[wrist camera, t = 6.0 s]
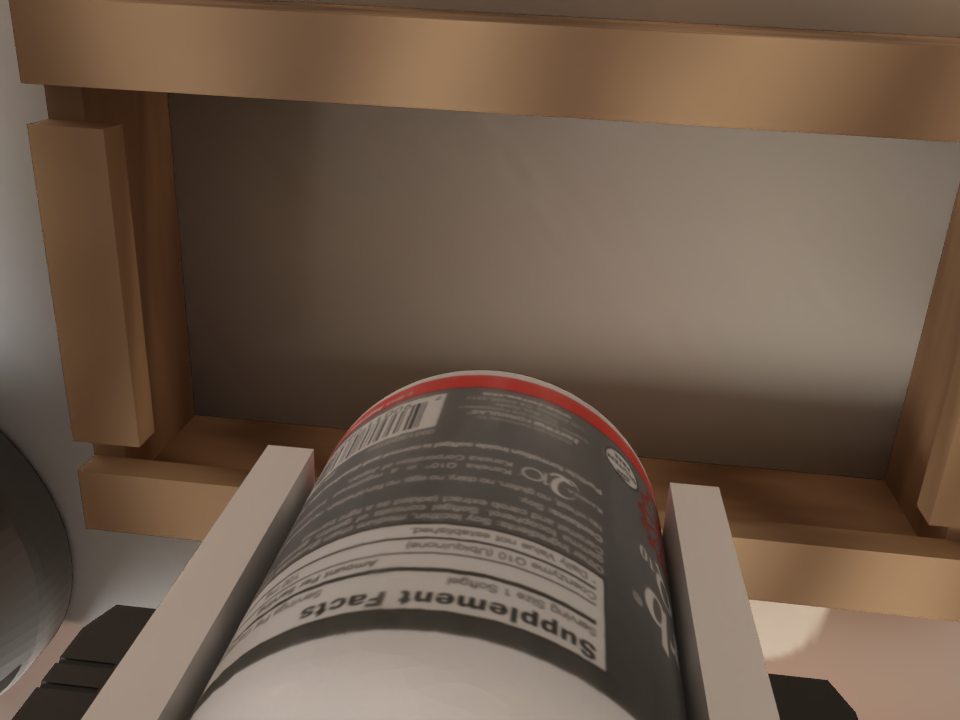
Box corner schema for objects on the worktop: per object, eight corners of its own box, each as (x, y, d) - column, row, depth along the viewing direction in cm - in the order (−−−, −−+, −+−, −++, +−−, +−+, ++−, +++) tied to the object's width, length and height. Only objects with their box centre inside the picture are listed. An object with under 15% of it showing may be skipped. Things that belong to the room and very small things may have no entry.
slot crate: (170, 437, 33) (86, 528, 27) (126, -7, 27) (8, -4, 22) (908, 508, 31) (977, 623, 25) (1033, 42, 25) (1159, 58, 19)
